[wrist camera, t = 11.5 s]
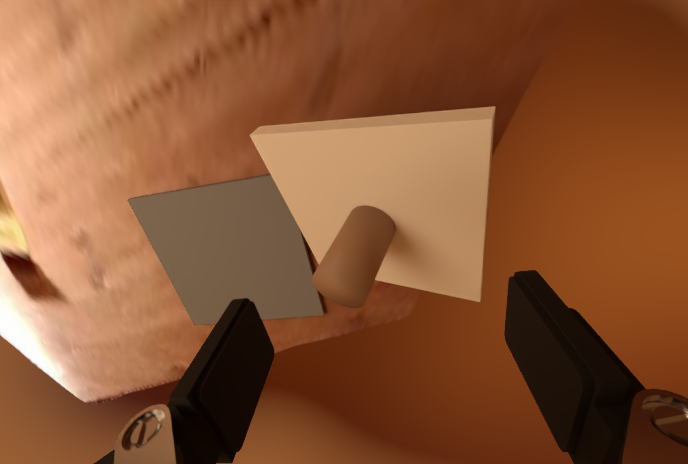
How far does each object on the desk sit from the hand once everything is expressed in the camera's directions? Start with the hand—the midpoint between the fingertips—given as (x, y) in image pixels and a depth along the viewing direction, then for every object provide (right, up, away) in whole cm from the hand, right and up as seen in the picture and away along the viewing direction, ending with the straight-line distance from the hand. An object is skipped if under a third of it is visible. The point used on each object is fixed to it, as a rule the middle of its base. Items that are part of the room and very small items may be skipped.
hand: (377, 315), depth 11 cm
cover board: (+1, +5, +11) cm, 12 cm away
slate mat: (-16, 0, +27) cm, 31 cm away
